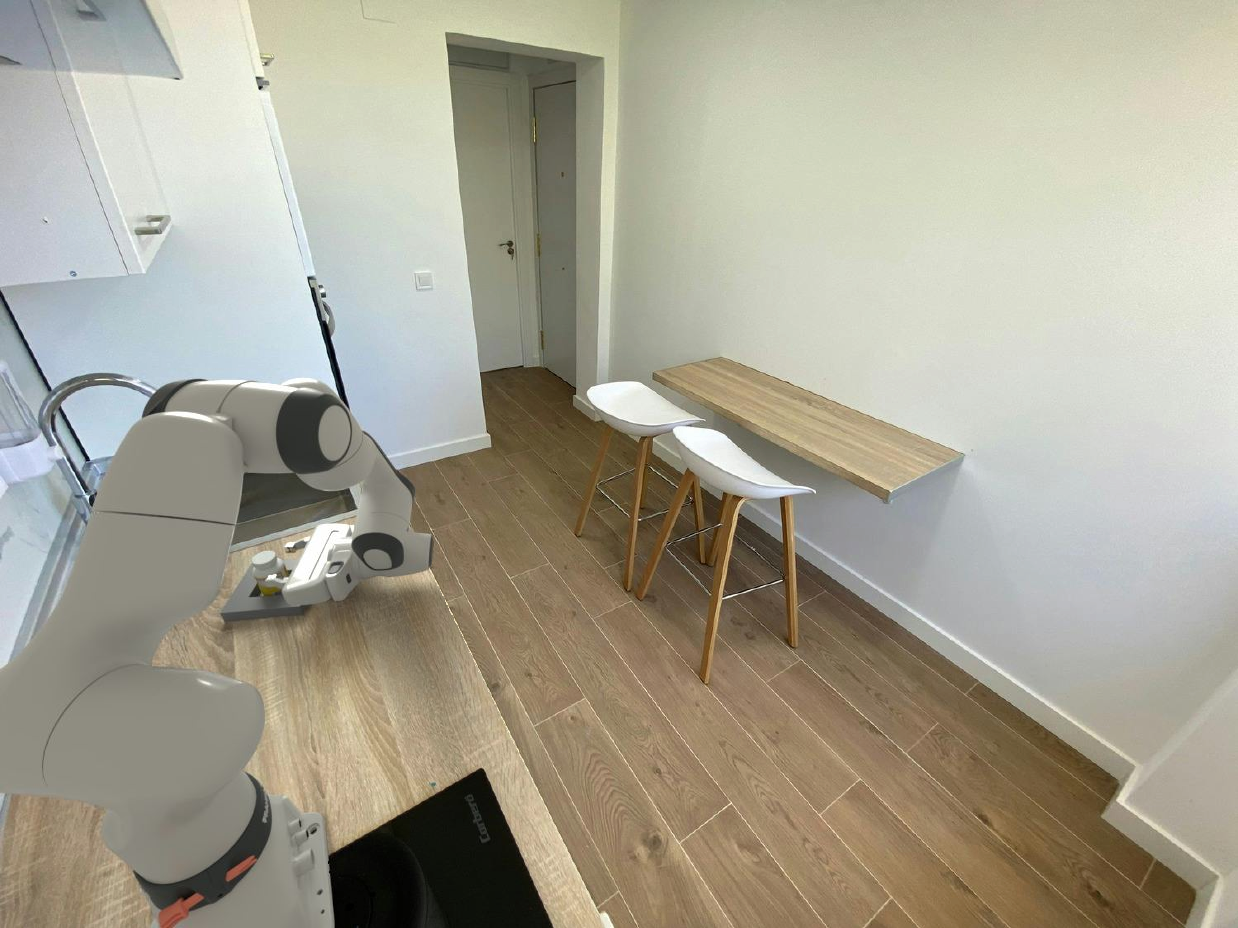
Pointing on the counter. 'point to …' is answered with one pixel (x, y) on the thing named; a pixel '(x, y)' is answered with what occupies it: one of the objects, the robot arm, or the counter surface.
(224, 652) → the counter surface
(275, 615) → the frame
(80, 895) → the counter surface
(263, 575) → the supplement bottle
